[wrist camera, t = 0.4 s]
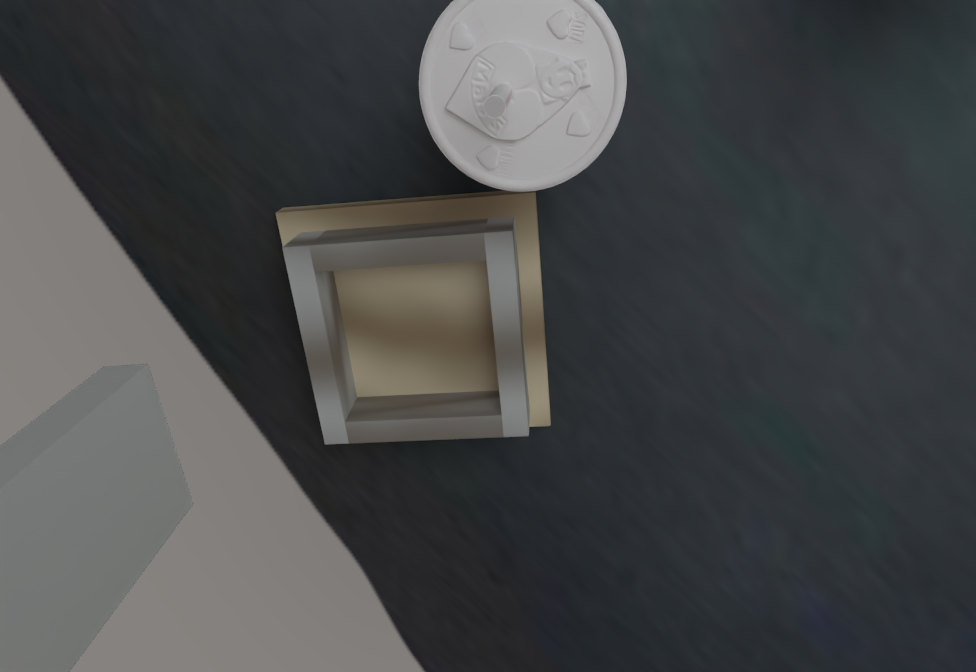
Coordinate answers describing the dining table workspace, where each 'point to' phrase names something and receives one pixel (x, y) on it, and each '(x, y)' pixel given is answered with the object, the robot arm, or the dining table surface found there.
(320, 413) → the tray
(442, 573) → the dining table surface
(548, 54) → the smoothie
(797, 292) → the dining table surface
